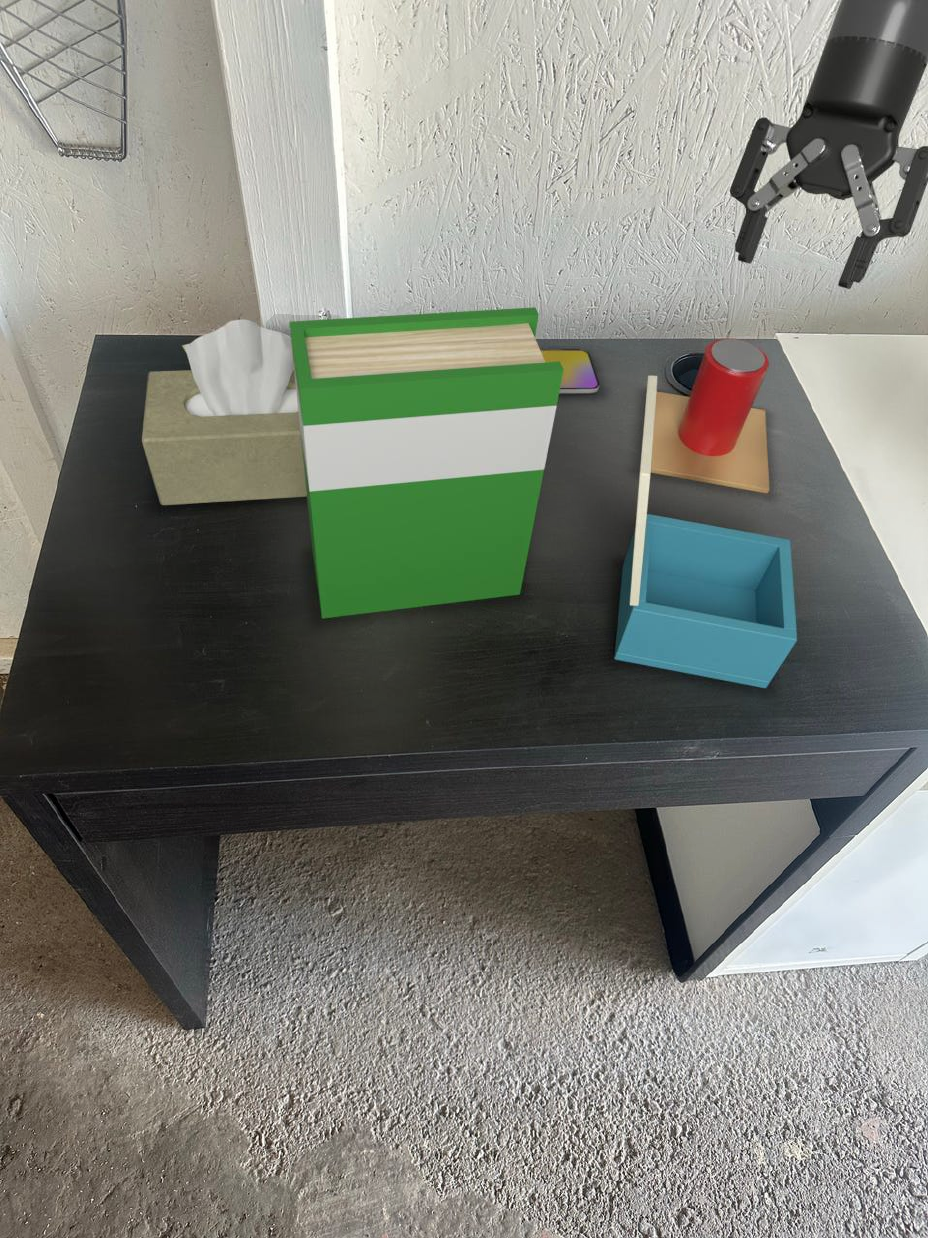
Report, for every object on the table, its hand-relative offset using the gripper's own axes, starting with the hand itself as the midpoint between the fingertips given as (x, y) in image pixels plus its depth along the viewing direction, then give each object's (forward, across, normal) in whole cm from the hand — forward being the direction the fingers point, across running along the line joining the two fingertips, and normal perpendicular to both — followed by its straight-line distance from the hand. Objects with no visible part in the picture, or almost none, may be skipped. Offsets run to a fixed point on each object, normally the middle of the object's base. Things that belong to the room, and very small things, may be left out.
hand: (793, 274), depth 71 cm
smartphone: (+16, -26, +10) cm, 33 cm away
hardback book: (+32, -18, -18) cm, 41 cm away
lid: (+17, -1, -16) cm, 24 cm away
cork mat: (+17, -6, +14) cm, 23 cm away
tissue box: (+29, -39, -18) cm, 51 cm away
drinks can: (+17, -6, +14) cm, 22 cm away
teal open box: (+29, +4, -7) cm, 30 cm away
